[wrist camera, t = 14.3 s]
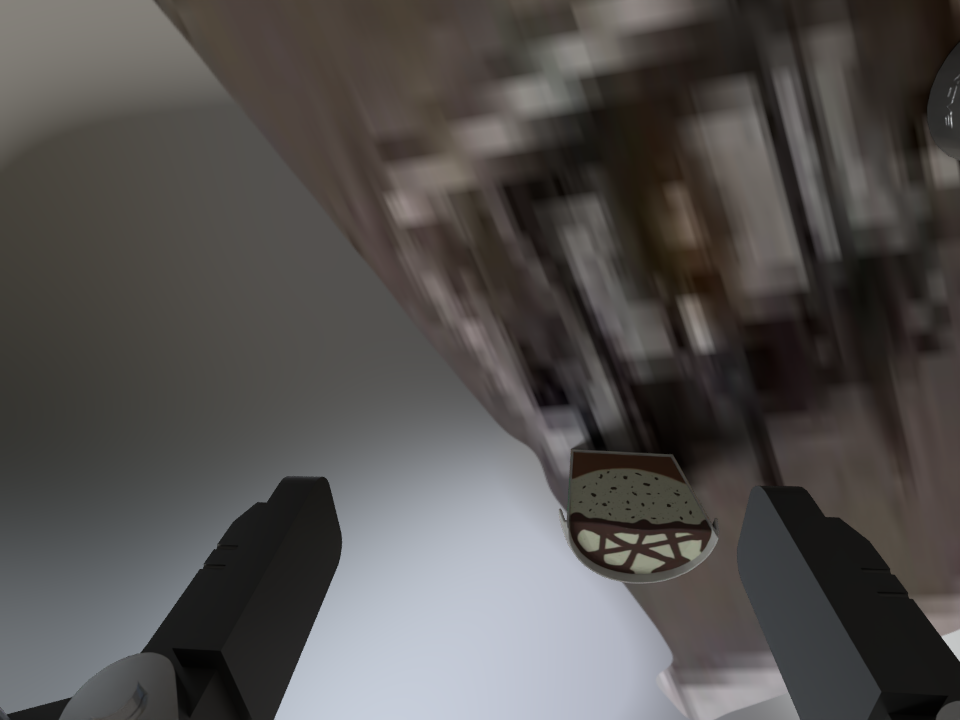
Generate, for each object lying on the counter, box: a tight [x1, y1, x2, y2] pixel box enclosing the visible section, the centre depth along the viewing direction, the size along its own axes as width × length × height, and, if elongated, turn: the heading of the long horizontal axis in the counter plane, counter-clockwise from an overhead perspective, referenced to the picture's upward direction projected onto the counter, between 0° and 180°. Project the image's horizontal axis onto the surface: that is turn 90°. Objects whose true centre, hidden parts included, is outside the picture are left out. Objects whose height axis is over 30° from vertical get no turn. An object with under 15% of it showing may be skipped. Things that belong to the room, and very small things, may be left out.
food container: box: [559, 449, 719, 583], centre depth 45 cm, size 12×6×10 cm, turn 90°
